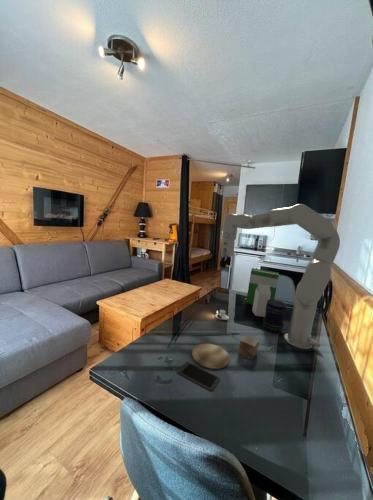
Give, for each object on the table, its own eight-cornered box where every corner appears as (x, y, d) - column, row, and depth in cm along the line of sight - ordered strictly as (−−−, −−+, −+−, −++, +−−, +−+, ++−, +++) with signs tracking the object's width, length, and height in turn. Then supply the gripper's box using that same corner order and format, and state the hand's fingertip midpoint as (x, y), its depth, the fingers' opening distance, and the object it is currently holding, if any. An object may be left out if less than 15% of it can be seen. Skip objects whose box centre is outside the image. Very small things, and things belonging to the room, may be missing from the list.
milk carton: (266, 317, 132) (272, 287, 129) (255, 316, 132) (260, 286, 130) (262, 312, 139) (267, 284, 137) (251, 311, 139) (256, 282, 137)
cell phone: (186, 362, 82) (186, 361, 82) (220, 380, 75) (221, 378, 75) (176, 373, 76) (176, 371, 76) (212, 393, 69) (212, 391, 69)
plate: (235, 355, 90) (235, 353, 90) (219, 375, 77) (219, 372, 77) (203, 341, 98) (203, 339, 98) (184, 356, 85) (185, 354, 85)
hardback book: (245, 303, 153) (251, 269, 149) (246, 299, 160) (251, 268, 156) (272, 309, 147) (278, 274, 144) (272, 305, 154) (278, 272, 151)
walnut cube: (256, 353, 93) (258, 340, 92) (252, 360, 88) (254, 346, 87) (243, 347, 96) (245, 335, 96) (238, 353, 91) (240, 340, 91)
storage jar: (261, 329, 115) (265, 303, 113) (263, 323, 124) (268, 298, 122) (281, 336, 111) (286, 308, 109) (282, 328, 119) (287, 303, 117)
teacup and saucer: (228, 322, 120) (229, 315, 120) (214, 319, 122) (215, 312, 121) (228, 315, 129) (229, 309, 128) (215, 313, 130) (216, 306, 130)
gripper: (231, 237, 111) (227, 269, 114) (239, 236, 127) (235, 265, 129) (217, 235, 115) (213, 267, 117) (227, 235, 130) (223, 262, 132)
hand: (225, 266), depth 123 cm, fingers open, 9 cm apart
